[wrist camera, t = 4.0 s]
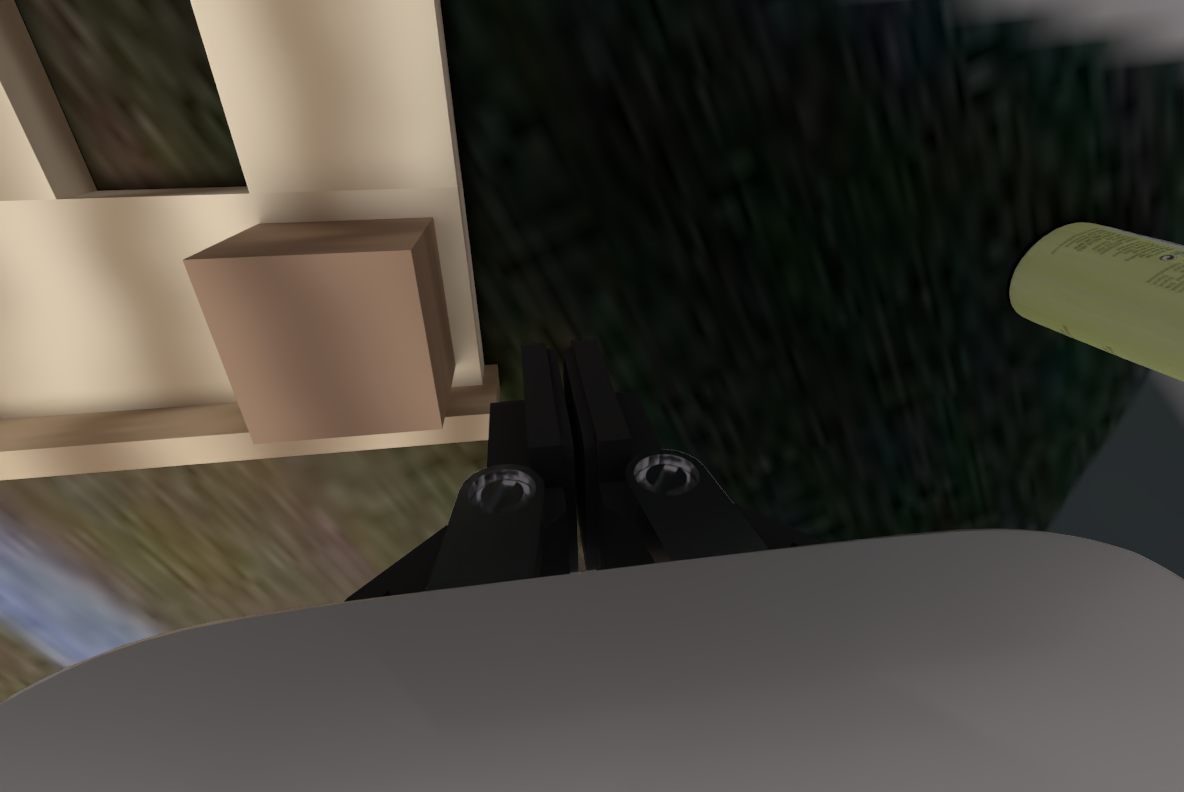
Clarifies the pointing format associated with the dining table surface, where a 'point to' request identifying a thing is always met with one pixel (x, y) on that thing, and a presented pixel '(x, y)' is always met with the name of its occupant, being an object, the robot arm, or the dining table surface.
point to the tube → (1107, 292)
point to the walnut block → (330, 326)
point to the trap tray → (216, 234)
